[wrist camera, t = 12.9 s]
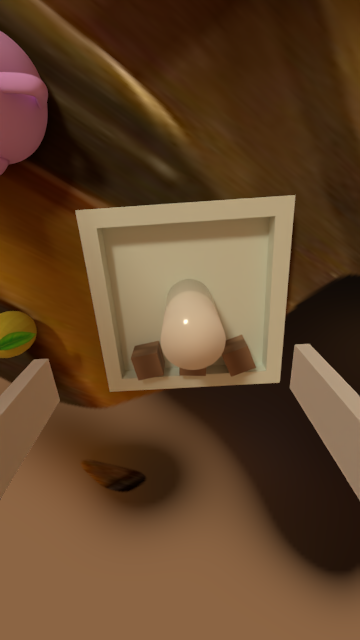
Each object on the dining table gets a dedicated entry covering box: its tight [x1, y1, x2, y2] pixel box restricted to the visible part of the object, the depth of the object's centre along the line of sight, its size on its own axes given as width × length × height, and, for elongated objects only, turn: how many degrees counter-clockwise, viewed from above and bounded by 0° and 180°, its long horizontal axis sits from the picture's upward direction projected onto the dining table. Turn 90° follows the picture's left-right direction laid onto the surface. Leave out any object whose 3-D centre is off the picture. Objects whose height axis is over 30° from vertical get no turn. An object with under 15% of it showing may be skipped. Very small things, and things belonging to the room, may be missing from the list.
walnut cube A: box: [131, 341, 165, 381], centre depth 38 cm, size 4×4×4 cm
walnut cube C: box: [222, 335, 256, 377], centre depth 38 cm, size 4×4×4 cm
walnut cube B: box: [179, 367, 206, 376], centre depth 38 cm, size 4×4×4 cm
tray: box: [75, 195, 295, 392], centre depth 36 cm, size 24×24×3 cm
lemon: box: [0, 311, 37, 358], centre depth 34 cm, size 7×6×10 cm
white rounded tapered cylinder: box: [160, 279, 226, 370], centre depth 31 cm, size 6×6×12 cm
